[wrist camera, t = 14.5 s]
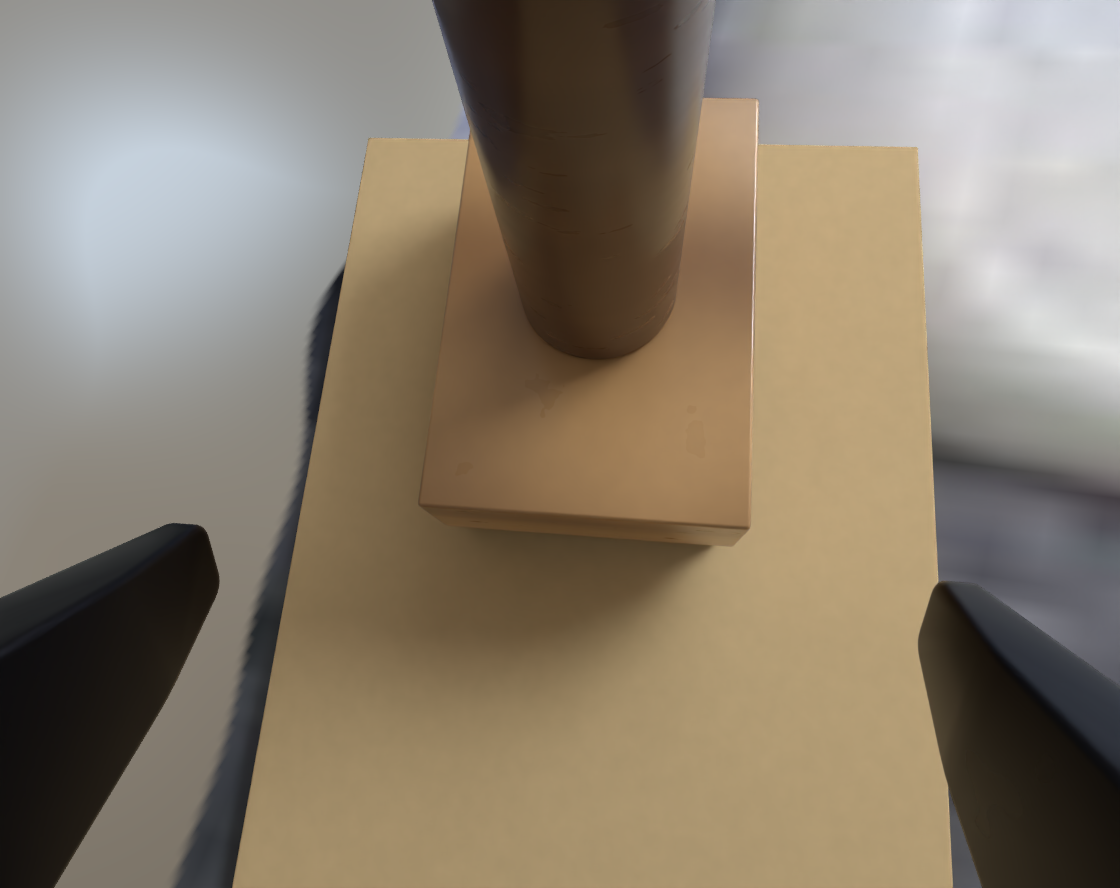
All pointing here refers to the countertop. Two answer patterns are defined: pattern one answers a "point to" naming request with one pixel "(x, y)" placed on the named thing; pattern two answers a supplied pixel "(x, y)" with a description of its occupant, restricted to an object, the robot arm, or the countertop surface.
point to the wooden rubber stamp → (597, 278)
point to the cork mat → (619, 597)
